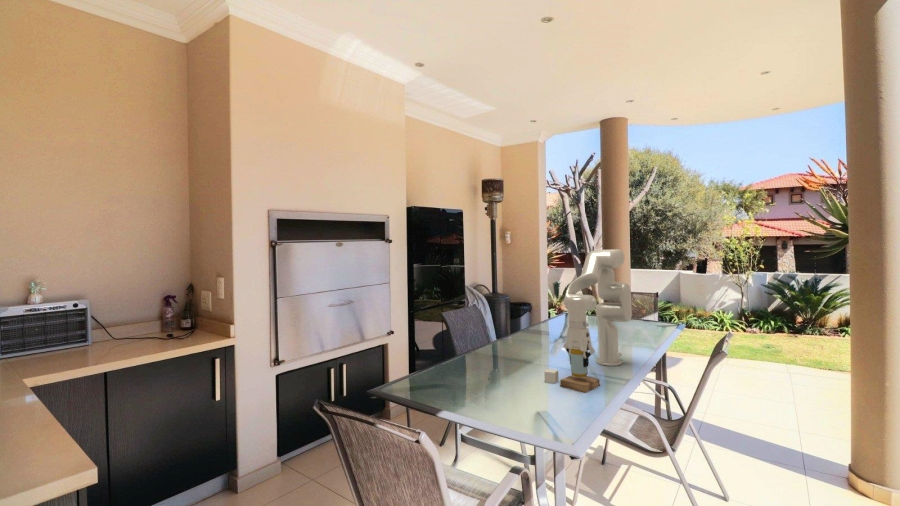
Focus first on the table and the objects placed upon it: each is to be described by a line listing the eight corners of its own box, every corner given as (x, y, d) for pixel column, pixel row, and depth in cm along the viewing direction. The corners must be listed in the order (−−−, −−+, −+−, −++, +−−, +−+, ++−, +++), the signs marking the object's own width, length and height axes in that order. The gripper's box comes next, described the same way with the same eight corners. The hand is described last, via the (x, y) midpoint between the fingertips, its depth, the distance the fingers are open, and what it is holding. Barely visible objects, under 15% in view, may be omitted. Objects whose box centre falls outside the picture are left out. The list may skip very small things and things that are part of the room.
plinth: (575, 379, 191) (575, 373, 191) (600, 385, 182) (600, 379, 182) (559, 386, 183) (559, 379, 183) (584, 393, 174) (584, 386, 174)
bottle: (588, 377, 178) (587, 342, 178) (572, 376, 180) (570, 342, 180) (586, 372, 185) (585, 339, 185) (570, 372, 187) (569, 339, 186)
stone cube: (548, 379, 194) (547, 368, 194) (558, 380, 192) (558, 369, 192) (544, 382, 190) (544, 371, 190) (555, 383, 187) (555, 372, 187)
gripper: (599, 325, 178) (601, 367, 178) (565, 321, 191) (567, 360, 192) (590, 328, 173) (592, 371, 174) (556, 323, 187) (557, 363, 187)
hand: (579, 364), depth 183 cm, fingers closed on bottle, 5 cm apart
